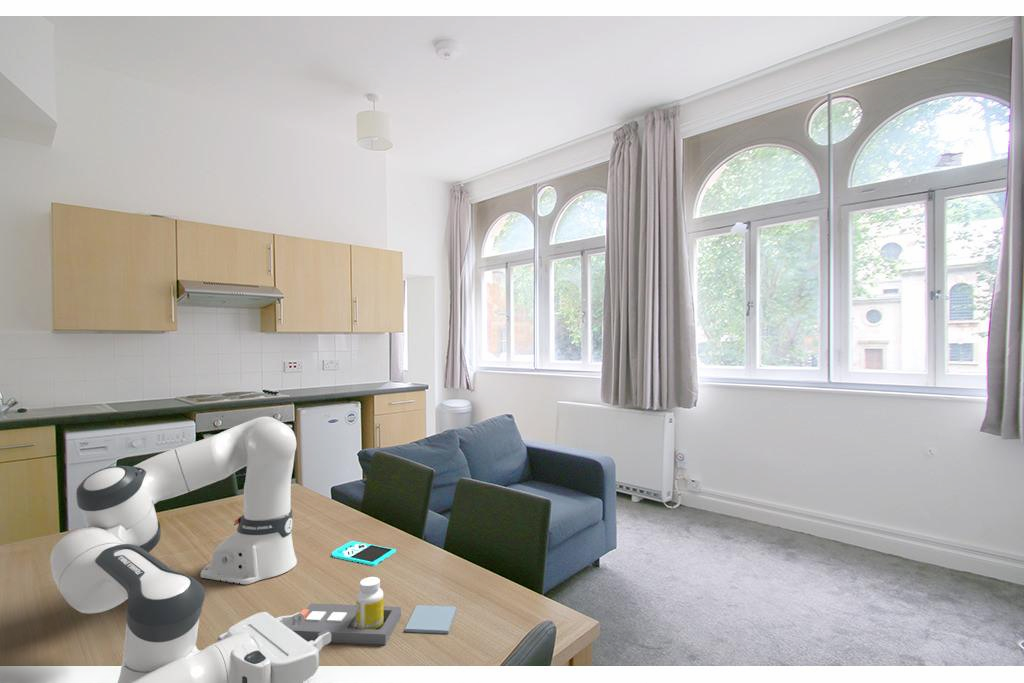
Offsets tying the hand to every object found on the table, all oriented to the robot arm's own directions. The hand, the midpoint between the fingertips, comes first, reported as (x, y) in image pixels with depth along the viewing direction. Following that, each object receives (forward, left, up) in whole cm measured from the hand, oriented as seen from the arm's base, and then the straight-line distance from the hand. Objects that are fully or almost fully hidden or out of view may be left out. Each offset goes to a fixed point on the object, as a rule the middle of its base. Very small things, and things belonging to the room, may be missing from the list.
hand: (315, 626), depth 90 cm
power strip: (-3, +10, -6) cm, 12 cm away
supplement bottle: (+7, +10, -6) cm, 14 cm away
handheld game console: (-8, +45, -7) cm, 46 cm away
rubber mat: (+19, +14, -6) cm, 24 cm away
